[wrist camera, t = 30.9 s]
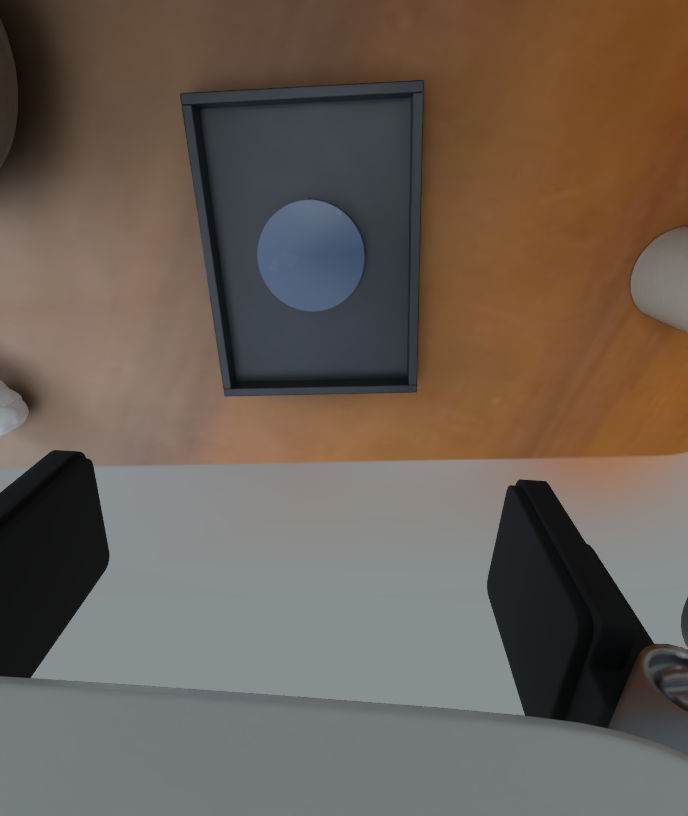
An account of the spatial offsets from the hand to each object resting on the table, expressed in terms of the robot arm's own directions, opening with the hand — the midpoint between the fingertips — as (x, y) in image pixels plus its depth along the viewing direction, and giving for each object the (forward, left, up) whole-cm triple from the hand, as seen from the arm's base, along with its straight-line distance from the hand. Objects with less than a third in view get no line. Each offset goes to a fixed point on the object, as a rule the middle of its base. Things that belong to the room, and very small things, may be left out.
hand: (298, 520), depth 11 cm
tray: (+3, +2, -26) cm, 27 cm away
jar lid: (+3, +2, -24) cm, 24 cm away
